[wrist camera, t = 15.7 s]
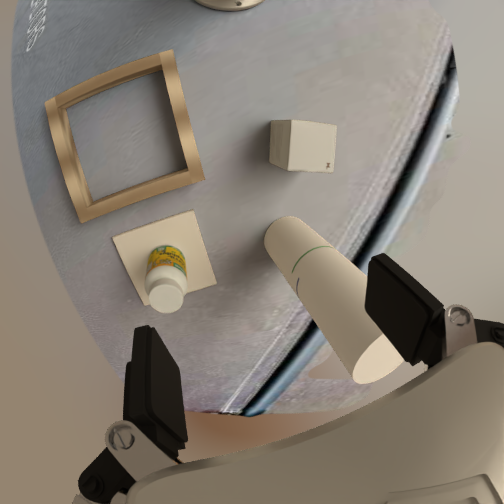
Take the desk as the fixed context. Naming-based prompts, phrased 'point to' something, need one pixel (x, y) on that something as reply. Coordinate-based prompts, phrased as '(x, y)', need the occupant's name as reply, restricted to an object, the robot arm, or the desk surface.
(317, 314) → the cylindrical container
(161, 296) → the supplement bottle
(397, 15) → the desk surface
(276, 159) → the product box
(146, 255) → the pad
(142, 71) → the wooden square frame
